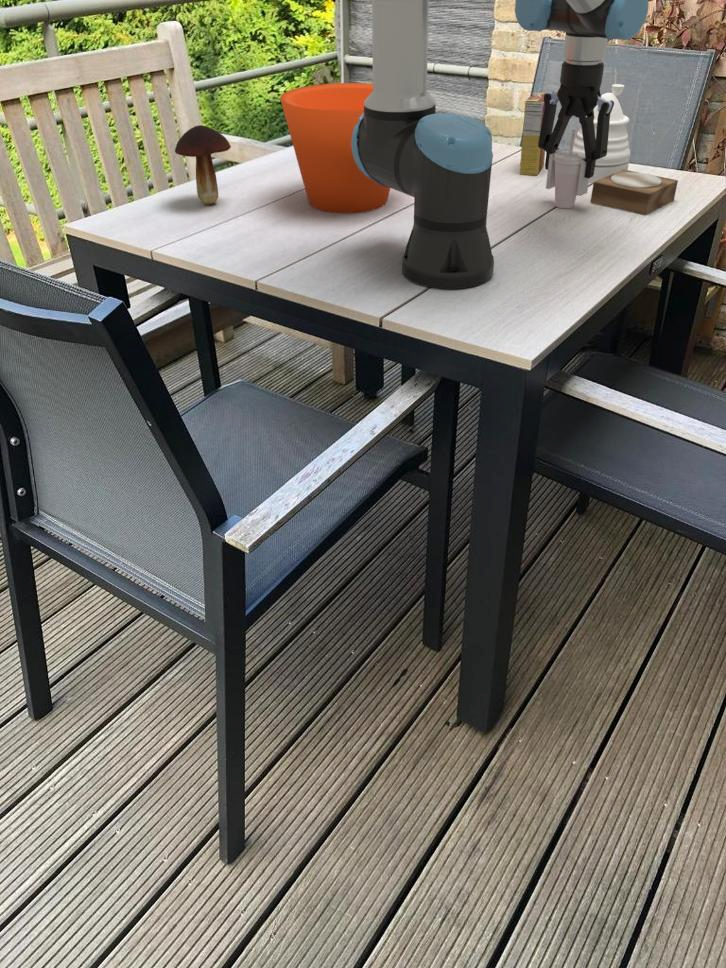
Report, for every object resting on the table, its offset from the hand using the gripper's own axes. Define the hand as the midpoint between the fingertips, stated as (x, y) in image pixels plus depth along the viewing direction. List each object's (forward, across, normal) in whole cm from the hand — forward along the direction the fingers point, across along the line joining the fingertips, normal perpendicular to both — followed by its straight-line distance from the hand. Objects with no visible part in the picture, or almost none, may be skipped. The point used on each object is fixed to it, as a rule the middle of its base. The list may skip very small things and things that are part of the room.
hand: (566, 190), depth 163 cm
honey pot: (+3, +6, -23) cm, 24 cm away
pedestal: (+3, -9, -11) cm, 15 cm away
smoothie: (+3, 0, 0) cm, 3 cm away
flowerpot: (+3, +35, +26) cm, 44 cm away
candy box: (+3, +19, -17) cm, 26 cm away
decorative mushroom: (+3, +55, +46) cm, 72 cm away
